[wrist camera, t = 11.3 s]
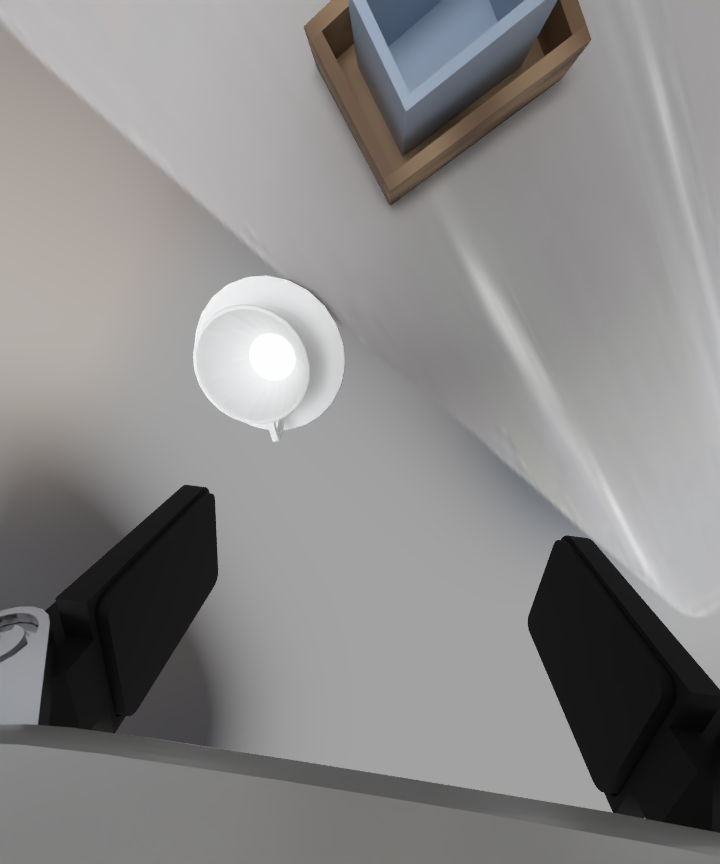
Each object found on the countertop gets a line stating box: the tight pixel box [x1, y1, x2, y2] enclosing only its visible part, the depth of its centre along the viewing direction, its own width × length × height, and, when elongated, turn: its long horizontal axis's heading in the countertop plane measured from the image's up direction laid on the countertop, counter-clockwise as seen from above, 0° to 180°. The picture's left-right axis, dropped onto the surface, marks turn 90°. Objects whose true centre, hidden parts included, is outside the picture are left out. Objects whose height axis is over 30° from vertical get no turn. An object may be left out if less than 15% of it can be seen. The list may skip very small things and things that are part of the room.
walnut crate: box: [304, 0, 591, 205], centre depth 20 cm, size 12×9×4 cm
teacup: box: [193, 276, 345, 442], centre depth 27 cm, size 12×12×5 cm
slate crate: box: [348, 0, 557, 157], centre depth 19 cm, size 8×6×6 cm
